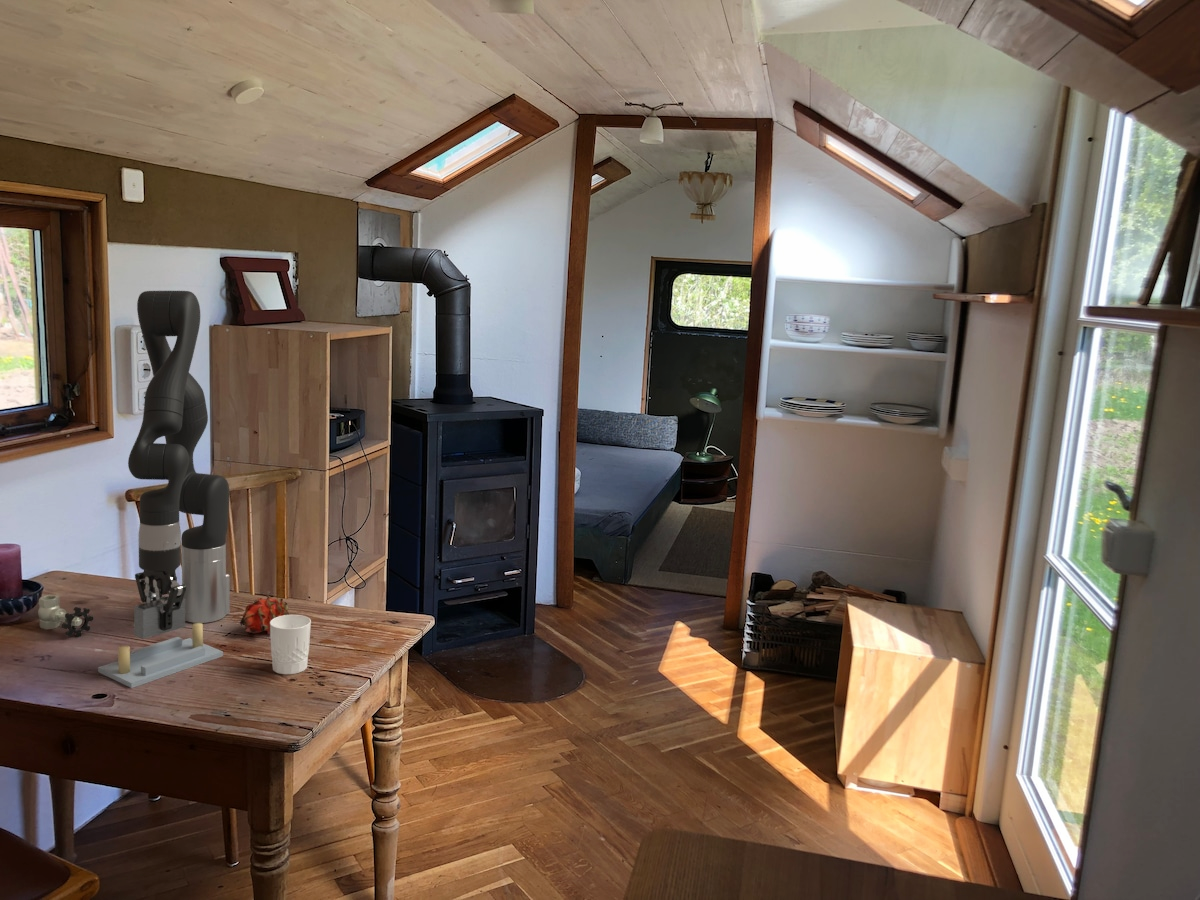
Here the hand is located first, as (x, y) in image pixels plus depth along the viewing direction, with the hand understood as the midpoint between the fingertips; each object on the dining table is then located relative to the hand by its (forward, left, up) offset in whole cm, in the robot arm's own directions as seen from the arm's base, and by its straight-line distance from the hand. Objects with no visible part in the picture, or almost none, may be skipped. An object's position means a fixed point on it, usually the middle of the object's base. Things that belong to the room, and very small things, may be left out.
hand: (160, 626), depth 187 cm
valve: (+3, -30, -8) cm, 32 cm away
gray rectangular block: (0, 0, -1) cm, 1 cm away
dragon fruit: (-24, +1, -8) cm, 26 cm away
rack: (0, 0, -8) cm, 8 cm away
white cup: (-15, +20, -8) cm, 27 cm away
